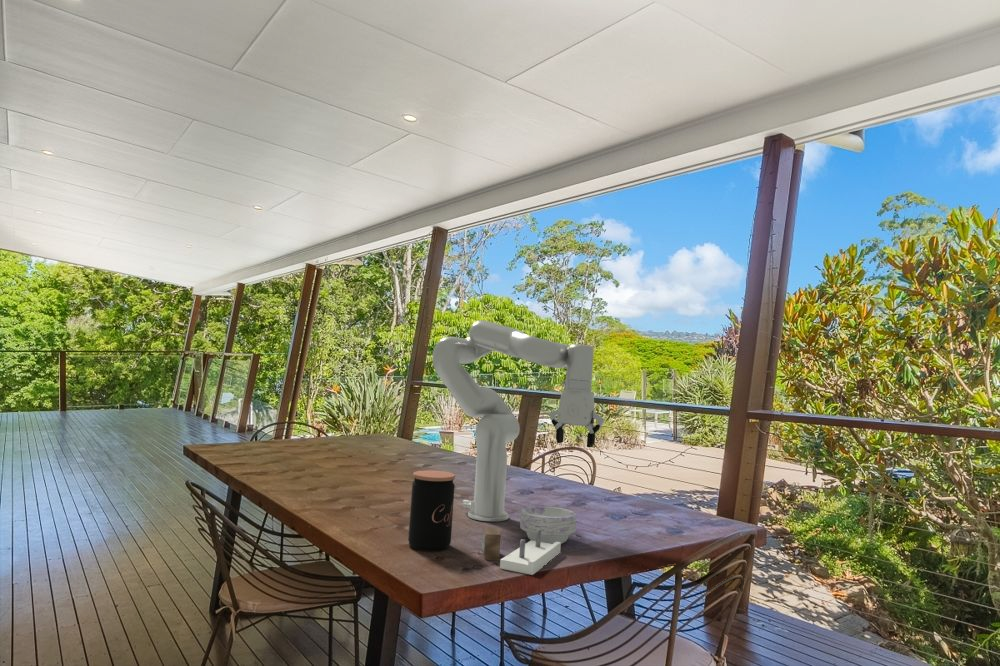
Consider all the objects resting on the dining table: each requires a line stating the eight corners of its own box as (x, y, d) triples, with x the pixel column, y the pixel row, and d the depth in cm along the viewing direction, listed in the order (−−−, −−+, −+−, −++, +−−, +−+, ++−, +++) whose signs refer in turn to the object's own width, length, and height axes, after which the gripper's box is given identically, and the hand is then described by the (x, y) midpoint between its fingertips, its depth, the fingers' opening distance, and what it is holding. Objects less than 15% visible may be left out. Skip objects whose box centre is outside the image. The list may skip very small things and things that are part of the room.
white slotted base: (499, 568, 142) (501, 541, 142) (530, 548, 160) (532, 524, 160) (532, 575, 138) (534, 547, 139) (560, 553, 157) (561, 529, 157)
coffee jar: (432, 555, 149) (438, 479, 150) (398, 546, 154) (404, 473, 155) (458, 546, 158) (463, 474, 159) (425, 537, 163) (430, 468, 164)
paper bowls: (533, 530, 179) (534, 502, 179) (583, 539, 172) (584, 510, 172) (509, 541, 166) (511, 511, 166) (562, 552, 158) (564, 520, 159)
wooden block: (483, 559, 148) (485, 534, 148) (481, 551, 155) (483, 526, 155) (499, 560, 148) (501, 534, 149) (496, 551, 155) (498, 527, 155)
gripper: (546, 383, 184) (542, 442, 183) (601, 388, 175) (597, 449, 174) (557, 384, 190) (553, 440, 189) (610, 388, 181) (607, 447, 180)
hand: (574, 444), depth 181 cm, fingers open, 9 cm apart
